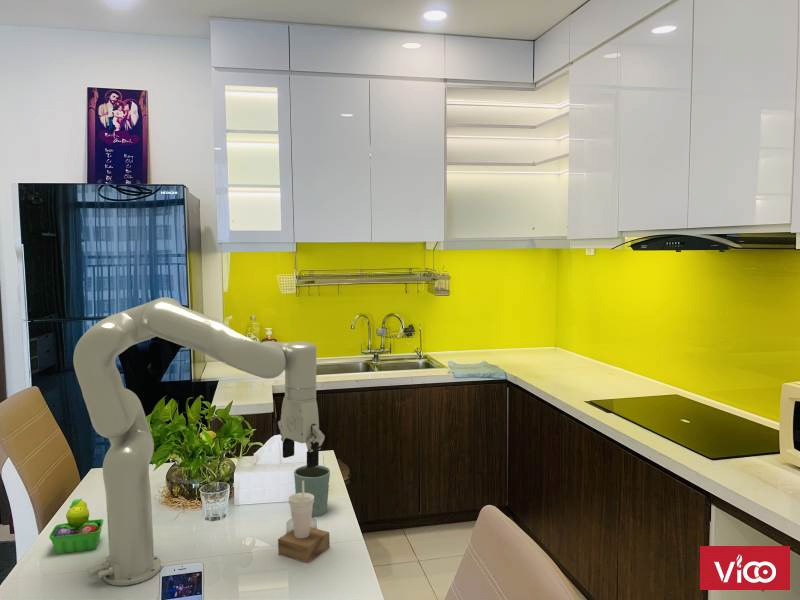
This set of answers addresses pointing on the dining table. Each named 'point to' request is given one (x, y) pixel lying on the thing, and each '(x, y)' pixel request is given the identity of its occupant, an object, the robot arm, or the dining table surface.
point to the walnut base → (304, 545)
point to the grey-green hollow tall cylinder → (314, 486)
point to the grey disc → (290, 527)
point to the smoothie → (301, 512)
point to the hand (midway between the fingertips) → (300, 461)
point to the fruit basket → (76, 530)
